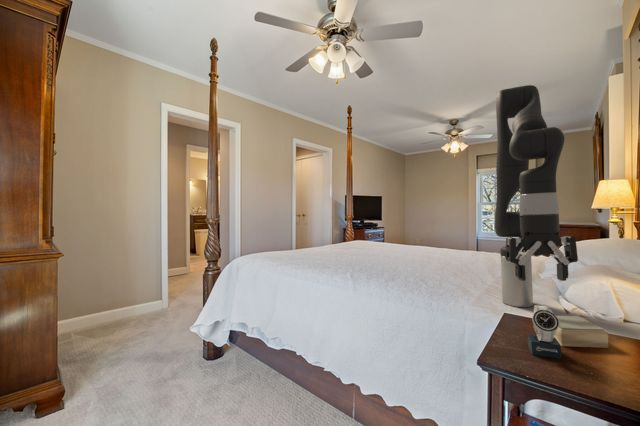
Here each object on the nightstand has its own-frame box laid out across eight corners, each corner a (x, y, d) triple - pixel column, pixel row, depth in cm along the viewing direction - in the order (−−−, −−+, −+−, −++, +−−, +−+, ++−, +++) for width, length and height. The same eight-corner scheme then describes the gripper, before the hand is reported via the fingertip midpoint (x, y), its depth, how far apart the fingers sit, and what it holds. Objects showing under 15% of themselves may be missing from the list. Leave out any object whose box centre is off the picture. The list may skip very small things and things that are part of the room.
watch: (533, 358, 67) (532, 311, 67) (526, 343, 74) (524, 300, 74) (564, 363, 65) (562, 313, 65) (553, 347, 72) (551, 303, 72)
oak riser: (539, 329, 82) (538, 314, 82) (579, 331, 80) (579, 315, 80) (561, 346, 72) (561, 328, 72) (608, 347, 70) (607, 330, 70)
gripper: (562, 211, 72) (564, 276, 72) (499, 213, 74) (502, 276, 74) (583, 211, 64) (586, 284, 64) (513, 213, 67) (516, 283, 67)
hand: (541, 280), depth 69 cm, fingers open, 8 cm apart
